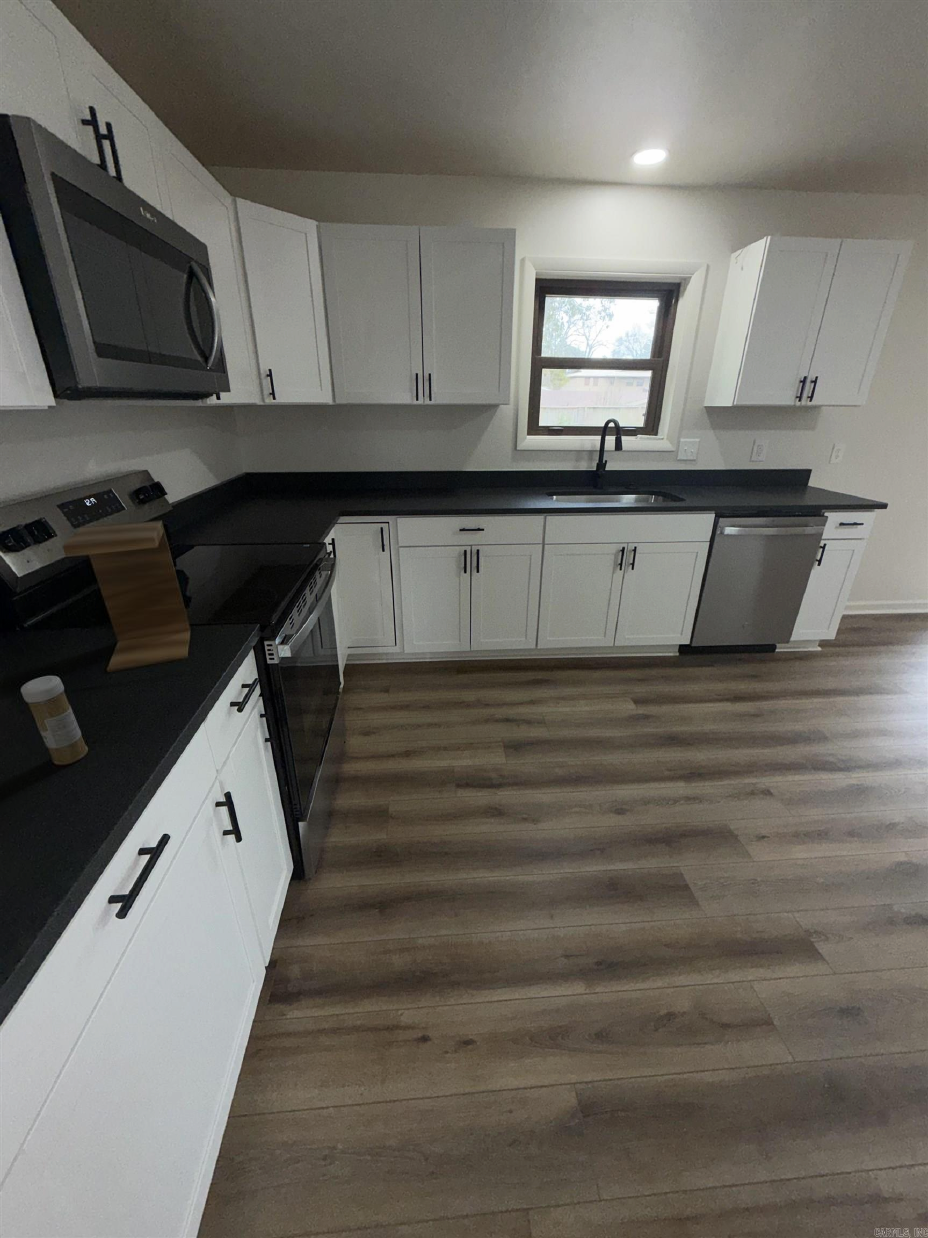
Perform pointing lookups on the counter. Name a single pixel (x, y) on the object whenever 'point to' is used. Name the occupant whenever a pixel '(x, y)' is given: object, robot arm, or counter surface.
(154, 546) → the shelf
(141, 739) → the counter surface
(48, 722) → the sprinkles bottle
